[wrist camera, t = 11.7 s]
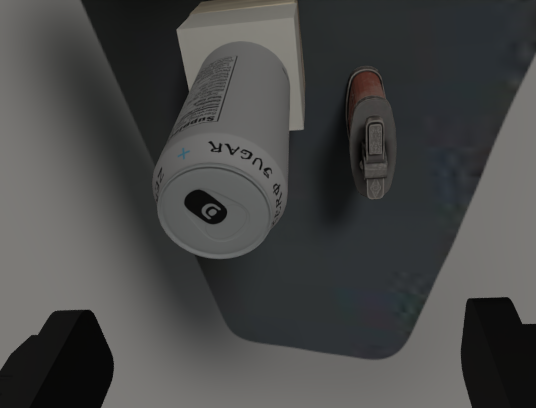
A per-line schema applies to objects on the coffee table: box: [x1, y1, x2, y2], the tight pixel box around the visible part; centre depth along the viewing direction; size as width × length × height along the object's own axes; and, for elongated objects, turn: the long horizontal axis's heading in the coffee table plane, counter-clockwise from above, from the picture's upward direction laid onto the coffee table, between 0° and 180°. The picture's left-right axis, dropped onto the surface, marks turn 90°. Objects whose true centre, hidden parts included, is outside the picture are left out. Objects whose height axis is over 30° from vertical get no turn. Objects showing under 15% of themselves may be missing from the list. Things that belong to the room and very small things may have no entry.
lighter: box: [345, 66, 397, 199], centre depth 39 cm, size 8×3×10 cm, turn 7°
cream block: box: [177, 3, 305, 131], centre depth 35 cm, size 8×8×4 cm
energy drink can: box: [152, 41, 290, 259], centre depth 27 cm, size 6×6×15 cm
